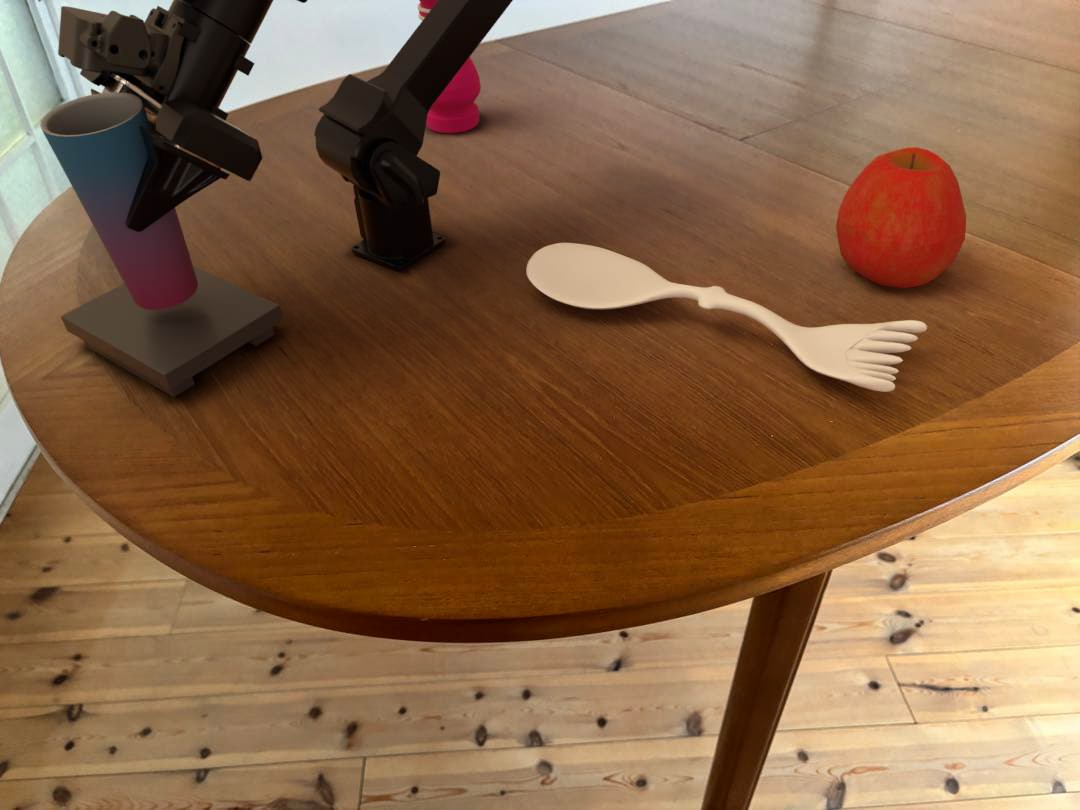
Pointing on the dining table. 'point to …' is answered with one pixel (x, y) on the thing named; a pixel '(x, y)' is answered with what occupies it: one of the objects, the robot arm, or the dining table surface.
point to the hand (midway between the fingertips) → (116, 214)
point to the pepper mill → (454, 95)
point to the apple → (902, 219)
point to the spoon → (627, 282)
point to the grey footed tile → (174, 330)
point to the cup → (120, 194)
